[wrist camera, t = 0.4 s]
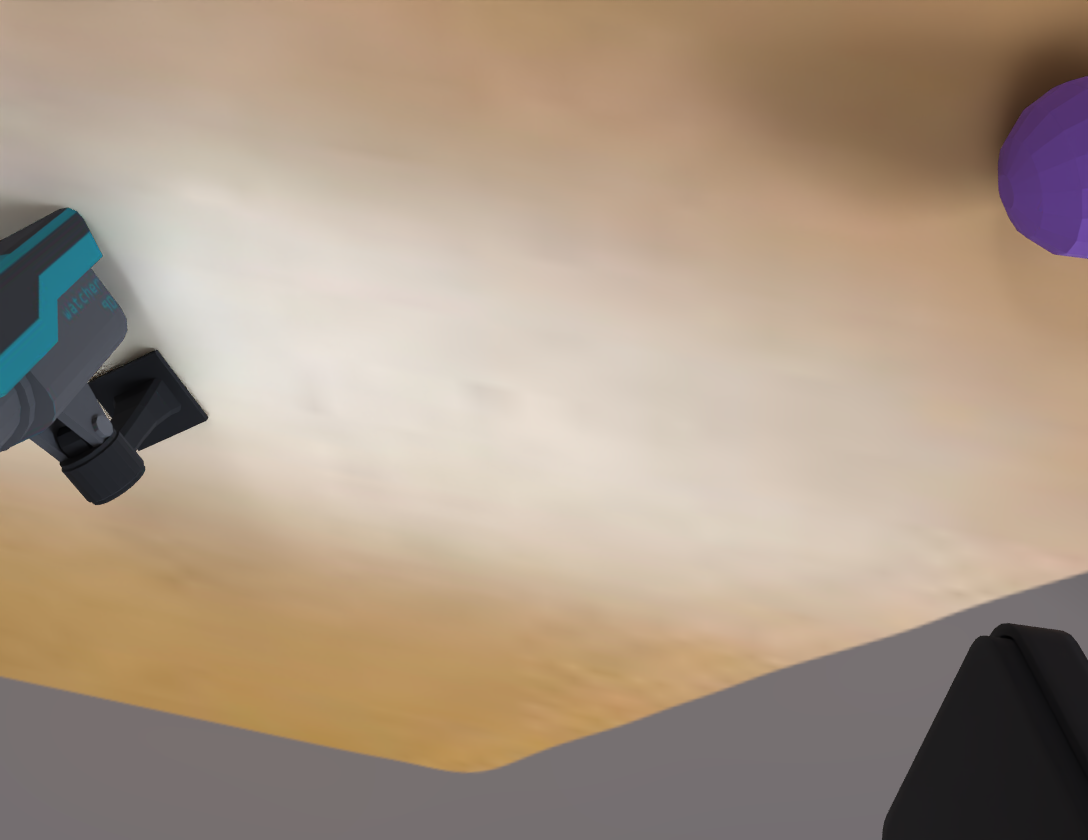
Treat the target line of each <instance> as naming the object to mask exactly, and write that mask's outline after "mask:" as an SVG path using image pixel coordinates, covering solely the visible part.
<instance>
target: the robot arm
mask: <svg viewBox="0 0 1088 840" xmlns="http://www.w3.org/2000/svg"><path fill="white" fill-rule="evenodd" d="M882 840H1088V660H1087V658H1086V656H1085V655H1084V653H1083V651H1082V650H1081V648H1080V646H1079V645H1078V643H1077V642H1076V641H1075V639H1074V638H1073V637H1072V636H1071V635H1070V634H1068V633H1066V632H1064V631H1060V630H1053V629H1046V628H1039V627H1031V626H1025V625H1017V624H1010V623H1007V624H1001V625H999V626H998V627H996V628H995V629H994V630H993V632H992V633H991V635H990V636H980V637H978V638H977V639H976V640H975V641H974V642H973V644H972V645H971V647H970V649H969V651H968V653H967V655H966V657H965V659H964V661H963V663H962V665H961V667H960V669H959V671H958V673H957V675H956V677H955V679H954V681H953V683H952V685H951V687H950V689H949V691H948V693H947V695H946V697H945V699H944V701H943V703H942V705H941V707H940V709H939V711H938V713H937V715H936V717H935V719H934V721H933V723H932V725H931V727H930V729H929V731H928V733H927V735H926V737H925V739H924V741H923V744H922V746H921V747H920V749H919V751H918V754H917V755H916V757H915V759H914V761H913V763H912V766H911V768H910V769H909V772H908V774H907V775H906V777H905V779H904V781H903V783H902V785H901V787H900V789H899V792H898V793H897V796H896V797H895V800H894V802H893V804H892V806H891V808H890V810H889V812H888V814H887V816H886V819H885V821H884V826H883V834H882Z"/></svg>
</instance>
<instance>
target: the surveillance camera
mask: <svg viewBox="0 0 1088 840" xmlns="http://www.w3.org/2000/svg"><path fill="white" fill-rule="evenodd" d="M102 256H103V255H102V253H101V252H100V250H99V248H98V246H97V244H96V242H95V240H94V238H93V236H92V234H91V232H90V231H89V229H88V227H87V225H86V223H85V221H84V219H83V218H82V217H81V216H80V214H79V213H78V212H77V211H75V210H72V209H70V208H63V209H59V210H57V211H55V212H53V213H51V214H50V215H48V216H46V217H44V218H42V219H40V220H38V221H36V222H35V223H33V224H31V225H29V226H27V227H25V228H23V229H22V230H20V231H18V232H16V233H14V234H12V235H10V236H8V237H7V238H5V239H3V240H1V241H0V452H1V451H5V450H7V449H9V448H10V447H12V446H14V445H16V444H18V443H20V442H22V441H25V440H27V439H31V440H32V441H33V442H35V443H36V444H37V445H39V446H40V447H41V448H42V449H44V450H45V451H46V452H48V453H49V454H50V455H52V456H53V457H54V458H56V459H57V460H58V461H60V466H61V467H62V472H63V473H64V474H65V475H66V476H67V478H68V479H69V480H70V481H71V482H72V483H73V485H74V486H75V487H76V488H77V489H78V490H79V492H80V493H81V494H82V495H83V496H84V497H85V499H86V500H87V501H89V502H92V503H93V504H95V505H101V504H104V503H107V502H109V501H111V500H113V499H115V498H117V497H118V496H120V495H121V494H123V493H124V492H126V491H127V490H128V489H129V488H131V487H132V486H133V485H134V484H135V483H136V482H137V481H138V480H139V479H140V478H141V476H142V475H143V474H144V472H145V466H144V461H143V460H142V459H141V457H140V456H139V455H138V454H137V452H136V450H137V449H138V451H140V450H142V449H144V448H147V447H149V446H151V445H153V444H156V443H158V442H160V441H162V440H164V439H167V438H169V437H171V436H173V435H176V434H178V433H180V432H182V431H184V430H187V429H189V428H191V427H193V426H196V425H198V424H200V423H202V422H204V421H206V420H207V419H208V417H207V415H206V414H205V413H204V411H203V410H202V409H201V407H200V406H199V405H198V403H197V402H196V401H195V399H194V398H193V397H192V395H191V394H190V393H189V391H188V390H187V389H186V387H185V386H184V385H183V383H182V382H181V381H180V379H179V378H178V377H177V375H176V374H175V373H174V372H173V370H172V369H171V368H170V366H169V365H168V364H167V362H166V361H165V360H164V358H163V357H162V356H161V354H160V353H159V352H158V350H155V351H153V352H151V353H149V354H147V355H144V356H142V357H140V358H138V359H136V360H134V361H132V362H130V363H128V364H126V365H124V366H121V367H119V368H117V369H115V370H113V371H111V372H109V373H107V374H105V375H103V376H100V377H98V378H96V379H94V380H92V381H90V382H88V381H89V380H90V378H91V377H92V376H93V375H94V374H95V373H96V371H97V370H98V369H99V368H100V367H101V366H102V364H103V363H104V362H105V361H106V360H107V358H108V357H109V356H110V355H111V354H112V353H113V351H114V350H115V349H116V348H117V347H118V346H119V344H120V343H121V342H122V341H123V340H124V337H125V335H126V332H127V319H126V317H125V315H124V313H123V311H122V309H121V308H120V306H119V305H118V304H117V302H116V301H115V300H114V298H113V297H112V296H111V294H110V293H109V292H108V290H107V289H106V288H105V286H104V285H103V284H102V282H101V281H100V280H99V278H98V277H97V276H96V274H95V273H94V272H93V271H92V269H91V267H92V266H93V265H94V264H95V263H96V262H97V261H98V260H99V259H100V258H101V257H102ZM87 382H88V383H87ZM97 400H98V401H99V402H100V404H101V405H102V406H103V407H104V409H105V410H106V411H107V412H108V414H109V415H110V416H111V417H112V419H111V421H109V419H108V418H107V417H106V415H105V413H104V412H103V410H102V408H101V406H100V404H99V403H98V401H97Z"/></svg>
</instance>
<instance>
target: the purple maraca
mask: <svg viewBox="0 0 1088 840" xmlns="http://www.w3.org/2000/svg"><path fill="white" fill-rule="evenodd" d="M998 186H999V194H1000V198H1001V200H1002V203H1003V205H1004V207H1005V210H1006V212H1007V214H1008V217H1009V219H1010V220H1011V222H1012V223H1013V225H1014V226H1015V228H1016V229H1017V231H1018V232H1020V233H1021V234H1023V235H1024V236H1025V237H1027V238H1028V239H1030V240H1032V241H1033V242H1035V243H1036V244H1038V245H1040V246H1041V247H1043V248H1044V249H1046V250H1048V251H1049V252H1051V253H1052V254H1055V255H1063V256H1071V257H1079V258H1087V259H1088V76H1085V77H1082V78H1078V79H1075V80H1071V81H1068V82H1065V83H1063V84H1061V85H1058V86H1056V87H1054V88H1052V89H1051V90H1049V91H1048V92H1047V93H1045V94H1044V95H1043V96H1041V97H1040V98H1039V99H1037V100H1036V101H1035V102H1033V103H1032V104H1031V105H1029V106H1028V107H1027V108H1025V109H1024V110H1023V112H1022V113H1021V115H1020V117H1019V118H1018V120H1017V122H1016V123H1015V125H1014V127H1013V128H1012V130H1011V132H1010V133H1009V135H1008V137H1007V139H1006V140H1005V142H1004V144H1003V146H1002V148H1001V149H1000V154H999V161H998Z"/></svg>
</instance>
